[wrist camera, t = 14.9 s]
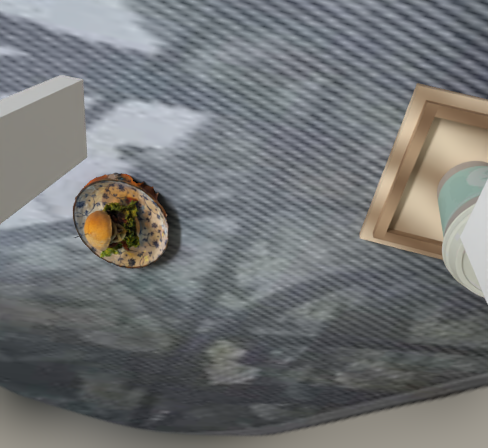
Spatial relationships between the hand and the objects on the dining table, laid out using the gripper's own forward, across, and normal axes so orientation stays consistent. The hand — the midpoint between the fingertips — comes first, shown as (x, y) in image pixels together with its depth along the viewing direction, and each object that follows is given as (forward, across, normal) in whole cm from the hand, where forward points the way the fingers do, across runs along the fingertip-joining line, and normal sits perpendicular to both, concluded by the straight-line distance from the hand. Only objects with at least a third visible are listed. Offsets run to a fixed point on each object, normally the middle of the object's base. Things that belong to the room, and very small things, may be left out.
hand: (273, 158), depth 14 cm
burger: (+29, -18, -23) cm, 41 cm away
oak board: (+29, +17, -11) cm, 35 cm away
